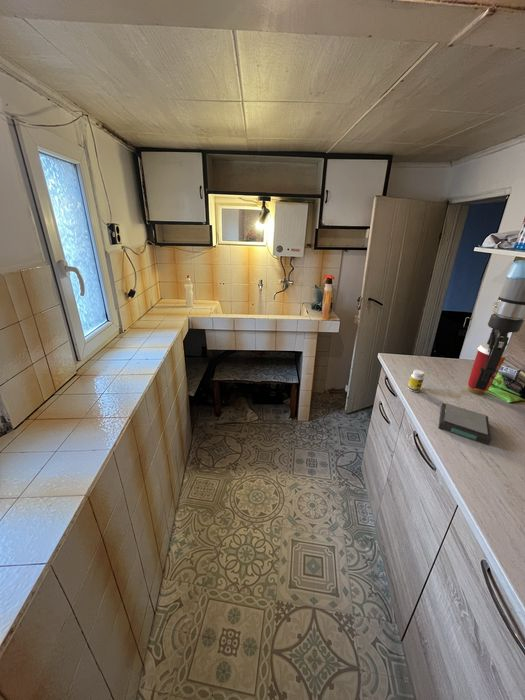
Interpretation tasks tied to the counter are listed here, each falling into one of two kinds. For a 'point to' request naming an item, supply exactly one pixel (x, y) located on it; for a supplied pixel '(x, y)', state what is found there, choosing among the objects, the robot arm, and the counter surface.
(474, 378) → the paper cup
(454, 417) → the kitchen scale
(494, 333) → the robot arm
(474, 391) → the cork
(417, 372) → the supplement bottle
